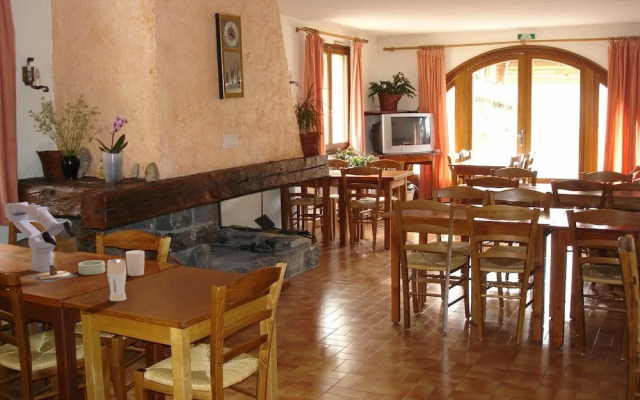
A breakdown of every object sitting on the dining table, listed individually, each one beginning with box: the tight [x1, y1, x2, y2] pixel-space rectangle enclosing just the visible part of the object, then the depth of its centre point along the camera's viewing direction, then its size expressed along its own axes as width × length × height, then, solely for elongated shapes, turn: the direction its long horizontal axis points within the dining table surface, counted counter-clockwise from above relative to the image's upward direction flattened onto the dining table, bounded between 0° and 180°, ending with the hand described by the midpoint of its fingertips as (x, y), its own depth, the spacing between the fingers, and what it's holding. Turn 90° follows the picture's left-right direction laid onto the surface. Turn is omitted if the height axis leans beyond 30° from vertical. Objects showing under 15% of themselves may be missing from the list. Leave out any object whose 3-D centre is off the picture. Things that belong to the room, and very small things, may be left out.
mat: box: [28, 272, 80, 283], centre depth 309 cm, size 15×15×1 cm
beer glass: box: [106, 258, 127, 303], centre depth 271 cm, size 7×7×15 cm
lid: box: [37, 264, 71, 280], centre depth 308 cm, size 13×13×5 cm
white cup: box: [125, 249, 145, 277], centre depth 312 cm, size 8×8×10 cm
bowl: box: [78, 259, 106, 276], centre depth 316 cm, size 11×11×4 cm
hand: (63, 239), depth 306 cm, fingers open, 7 cm apart
